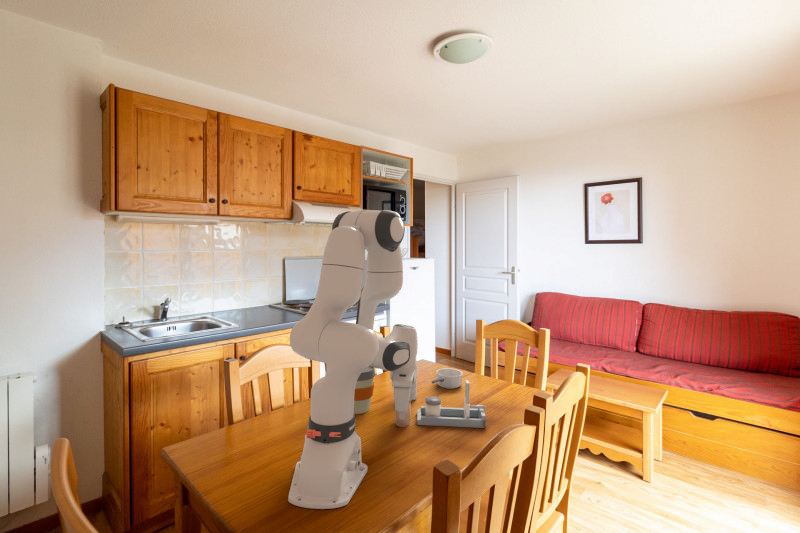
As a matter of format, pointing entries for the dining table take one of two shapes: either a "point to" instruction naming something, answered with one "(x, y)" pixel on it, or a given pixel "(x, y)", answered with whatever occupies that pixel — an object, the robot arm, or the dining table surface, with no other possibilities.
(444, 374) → the saucepan
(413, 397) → the skincare box
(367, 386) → the reusable coffee cup
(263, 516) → the dining table surface
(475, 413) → the blue-grey tray
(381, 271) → the robot arm
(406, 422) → the pink spice shaker
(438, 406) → the cream jar
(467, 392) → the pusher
